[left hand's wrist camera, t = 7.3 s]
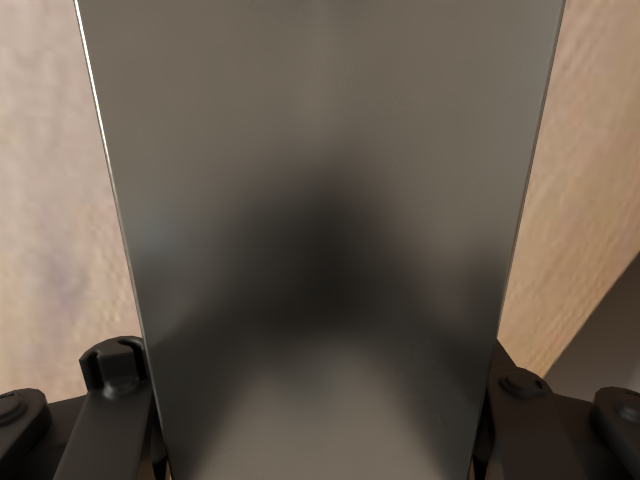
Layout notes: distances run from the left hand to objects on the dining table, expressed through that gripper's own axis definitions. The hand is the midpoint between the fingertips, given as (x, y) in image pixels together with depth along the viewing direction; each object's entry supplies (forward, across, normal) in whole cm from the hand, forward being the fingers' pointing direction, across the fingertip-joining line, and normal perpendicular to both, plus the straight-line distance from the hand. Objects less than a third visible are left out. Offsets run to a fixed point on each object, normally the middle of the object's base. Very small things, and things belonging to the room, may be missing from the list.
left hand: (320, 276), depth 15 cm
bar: (0, 0, -8) cm, 8 cm away
